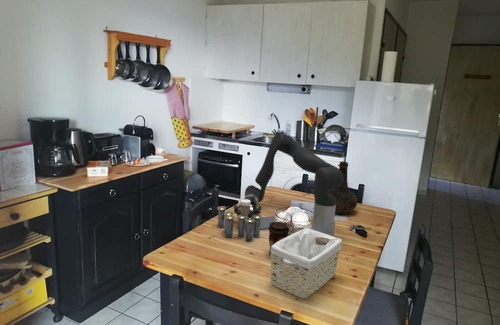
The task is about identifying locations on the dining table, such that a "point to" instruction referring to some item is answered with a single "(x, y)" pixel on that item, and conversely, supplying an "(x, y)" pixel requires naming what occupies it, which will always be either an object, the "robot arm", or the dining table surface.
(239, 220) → the posts
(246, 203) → the sprinkles bottle
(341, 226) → the dining table surface
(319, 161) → the robot arm
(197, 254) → the dining table surface
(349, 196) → the glass bottle
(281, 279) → the storage basket
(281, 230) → the coffee cup
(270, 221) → the rubber mat
